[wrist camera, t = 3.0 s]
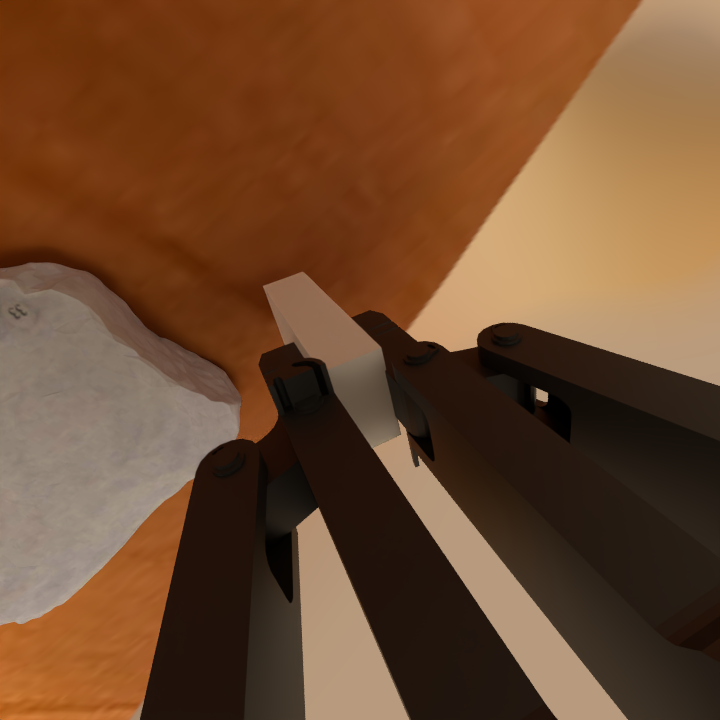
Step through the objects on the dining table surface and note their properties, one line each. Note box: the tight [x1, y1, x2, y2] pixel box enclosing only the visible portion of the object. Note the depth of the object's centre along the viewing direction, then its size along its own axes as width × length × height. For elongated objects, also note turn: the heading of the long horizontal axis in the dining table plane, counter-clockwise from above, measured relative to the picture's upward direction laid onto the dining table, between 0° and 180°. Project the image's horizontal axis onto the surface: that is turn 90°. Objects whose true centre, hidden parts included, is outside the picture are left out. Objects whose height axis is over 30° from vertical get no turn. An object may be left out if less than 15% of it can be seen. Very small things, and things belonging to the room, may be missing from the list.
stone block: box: [0, 262, 242, 625], centre depth 15 cm, size 12×5×10 cm
